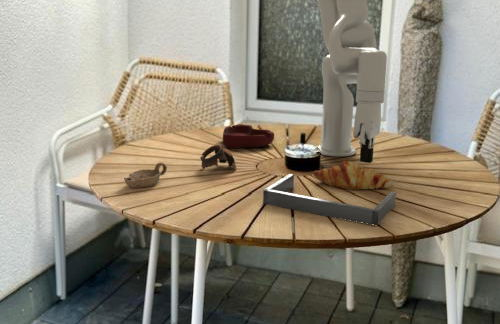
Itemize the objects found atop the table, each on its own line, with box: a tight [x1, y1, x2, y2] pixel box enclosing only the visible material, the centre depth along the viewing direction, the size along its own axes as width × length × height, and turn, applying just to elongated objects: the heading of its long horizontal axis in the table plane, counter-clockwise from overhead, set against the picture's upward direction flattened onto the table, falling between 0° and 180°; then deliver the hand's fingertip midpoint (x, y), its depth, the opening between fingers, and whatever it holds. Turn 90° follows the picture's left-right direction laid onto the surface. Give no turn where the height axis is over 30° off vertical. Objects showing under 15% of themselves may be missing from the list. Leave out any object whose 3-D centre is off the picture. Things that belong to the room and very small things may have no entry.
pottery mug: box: [199, 144, 237, 172], centre depth 171 cm, size 12×10×8 cm
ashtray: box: [222, 123, 275, 149], centre depth 197 cm, size 18×16×5 cm
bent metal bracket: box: [262, 173, 397, 226], centre depth 143 cm, size 15×28×4 cm, turn 61°
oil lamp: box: [123, 161, 168, 189], centre depth 156 cm, size 13×8×5 cm, turn 133°
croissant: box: [313, 160, 394, 191], centre depth 158 cm, size 21×10×8 cm, turn 76°
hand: (366, 161), depth 165 cm, fingers closed
